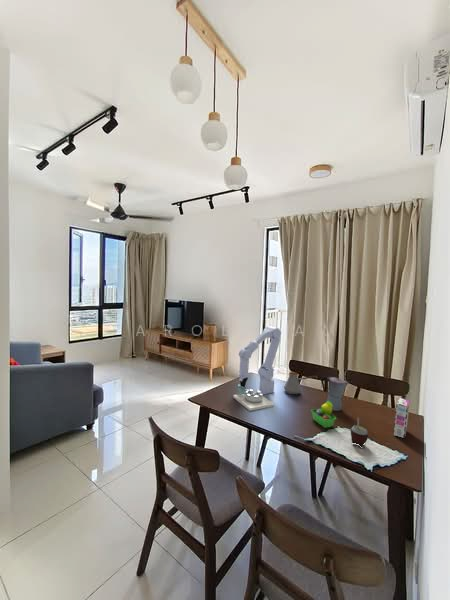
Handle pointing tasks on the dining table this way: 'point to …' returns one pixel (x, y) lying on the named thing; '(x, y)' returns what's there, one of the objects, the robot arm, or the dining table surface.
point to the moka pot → (335, 391)
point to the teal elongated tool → (250, 394)
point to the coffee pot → (294, 383)
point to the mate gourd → (359, 434)
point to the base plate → (253, 406)
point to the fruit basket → (324, 415)
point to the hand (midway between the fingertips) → (242, 388)
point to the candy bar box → (401, 417)
